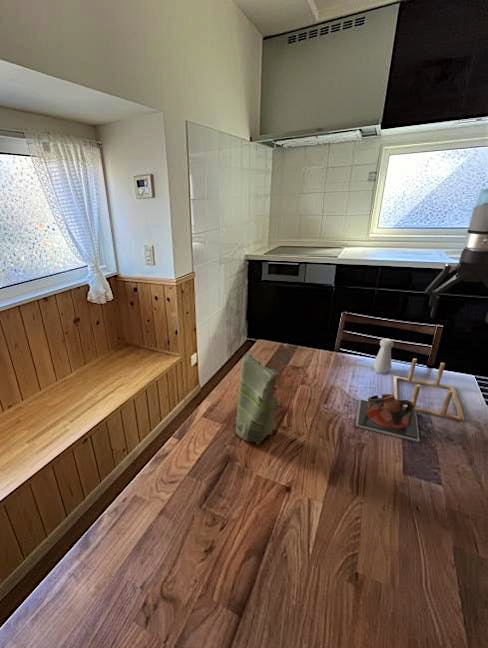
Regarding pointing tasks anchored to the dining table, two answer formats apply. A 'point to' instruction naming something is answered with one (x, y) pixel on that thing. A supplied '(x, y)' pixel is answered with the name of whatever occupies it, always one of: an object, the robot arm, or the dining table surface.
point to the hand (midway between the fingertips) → (459, 319)
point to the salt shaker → (384, 356)
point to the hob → (376, 422)
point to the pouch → (255, 400)
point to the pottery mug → (391, 407)
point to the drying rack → (436, 384)
